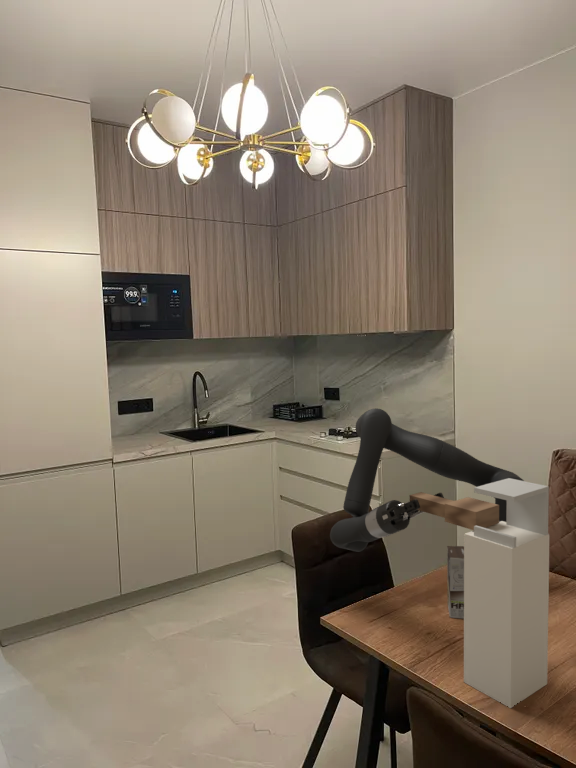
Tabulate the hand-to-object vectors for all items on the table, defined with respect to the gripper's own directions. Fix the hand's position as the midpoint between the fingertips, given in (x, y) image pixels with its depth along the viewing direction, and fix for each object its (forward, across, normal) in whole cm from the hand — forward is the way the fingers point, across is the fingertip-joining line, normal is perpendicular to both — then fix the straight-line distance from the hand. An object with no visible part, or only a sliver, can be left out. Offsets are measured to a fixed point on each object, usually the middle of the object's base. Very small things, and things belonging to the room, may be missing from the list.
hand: (430, 500), depth 135 cm
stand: (0, 0, +40) cm, 40 cm away
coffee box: (-23, +19, +27) cm, 40 cm away
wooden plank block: (+3, 0, +5) cm, 6 cm away
